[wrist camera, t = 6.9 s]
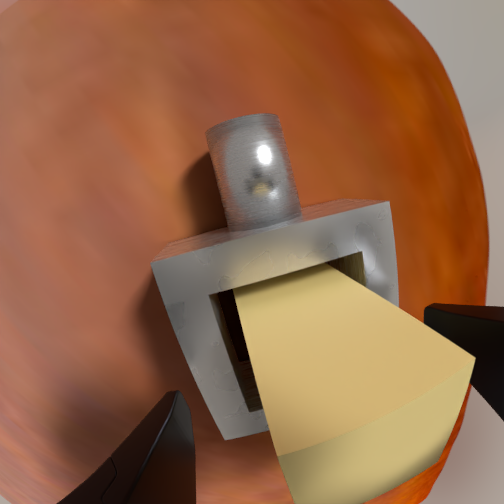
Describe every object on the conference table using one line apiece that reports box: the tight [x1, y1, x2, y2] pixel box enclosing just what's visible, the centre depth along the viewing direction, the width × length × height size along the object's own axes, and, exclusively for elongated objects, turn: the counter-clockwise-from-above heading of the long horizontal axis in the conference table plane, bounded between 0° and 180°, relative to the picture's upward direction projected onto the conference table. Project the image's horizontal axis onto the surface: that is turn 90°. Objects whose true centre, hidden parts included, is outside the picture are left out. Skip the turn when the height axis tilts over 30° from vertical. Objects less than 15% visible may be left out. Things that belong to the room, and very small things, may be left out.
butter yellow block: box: [233, 263, 476, 504], centre depth 9 cm, size 4×4×10 cm
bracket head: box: [150, 114, 399, 440], centre depth 12 cm, size 16×8×4 cm, turn 14°
